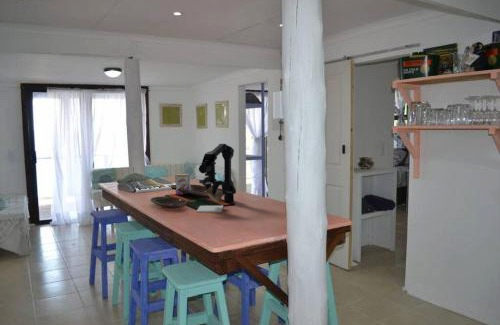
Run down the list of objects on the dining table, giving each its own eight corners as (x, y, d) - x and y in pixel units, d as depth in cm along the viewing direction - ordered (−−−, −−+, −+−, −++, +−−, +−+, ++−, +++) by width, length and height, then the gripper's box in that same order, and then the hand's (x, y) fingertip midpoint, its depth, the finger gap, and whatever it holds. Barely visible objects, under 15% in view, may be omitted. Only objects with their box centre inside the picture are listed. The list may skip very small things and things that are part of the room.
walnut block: (217, 195, 267) (209, 186, 261) (222, 196, 263) (213, 187, 258) (213, 201, 265) (205, 192, 259) (218, 202, 261) (209, 193, 255)
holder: (136, 193, 327) (136, 190, 327) (131, 190, 343) (131, 187, 342) (187, 188, 350) (187, 185, 349) (180, 185, 365) (180, 182, 365)
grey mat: (223, 206, 268) (223, 205, 267) (221, 211, 252) (221, 210, 252) (200, 206, 268) (200, 205, 268) (196, 212, 252) (196, 211, 252)
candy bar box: (175, 194, 315) (174, 174, 313) (177, 193, 320) (176, 173, 318) (189, 194, 314) (188, 174, 312) (190, 193, 319) (190, 173, 317)
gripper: (192, 171, 259) (193, 194, 261) (209, 174, 246) (210, 198, 247) (205, 169, 267) (206, 192, 268) (223, 172, 253) (223, 195, 255)
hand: (211, 194), depth 260 cm, fingers closed on walnut block, 5 cm apart
